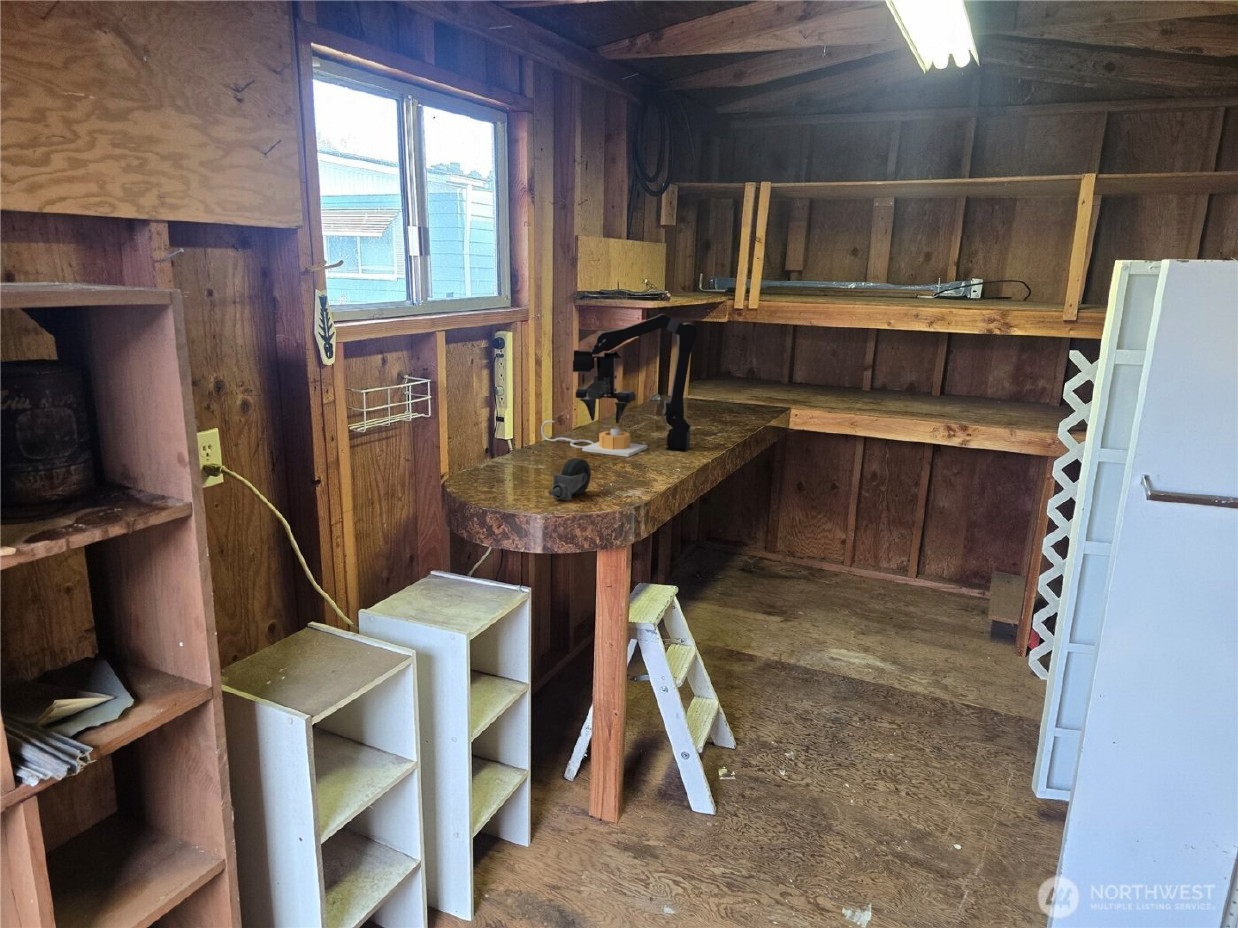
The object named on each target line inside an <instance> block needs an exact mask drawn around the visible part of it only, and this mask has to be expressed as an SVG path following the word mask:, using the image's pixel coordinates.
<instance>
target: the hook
mask: <svg viewBox="0 0 1238 928" xmlns="http://www.w3.org/2000/svg"><path fill="white" fill-rule="evenodd" d="M548 423H555V421H554V420H552V419H549V420H545V421H544V422H543V423H542V425H541V427H540V433H541V436H542V438H543V439H544V440H546V441H551V442H557V441H567V442H570V443H569V446H571V447H572V448H576V449H581V448H583V447H585V446H586V445H583V446H582V445H581V446H579V445H576V444H578V443H587V444H590V445H591V444H594V443H595V442H593V441H592V440H588V439H576V440H575V439H571V438H568V437H556V438H554V439H551V438H548V437H546V435H545V432H544V431H545V430H544V427H545V426H546V425H547V424H548Z"/></svg>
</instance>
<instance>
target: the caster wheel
mask: <svg viewBox="0 0 1238 928" xmlns="http://www.w3.org/2000/svg"><path fill="white" fill-rule="evenodd" d="M591 472H592V471H591V467H590V464H589V462H588V461H587V460H586V459H583V458H578V457H572V458H570V459H568V460H567V461H566V462H565V463H564V465H563V468H562V470H561V472H560V473H557V474H556V473H555V474H553V481H552V489H551V490H548V495H549V496H552V495H553V498H554V499H555V498H557V499H556V500H560V499H562V500H561V501H565V500H566V502H567V501H568V502H569V501H572V495H574V496H580V495H582V494H584V493H586V491H587V489H588V487H589V484H590V482H591V475H592V473H591Z"/></svg>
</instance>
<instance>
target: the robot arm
mask: <svg viewBox="0 0 1238 928" xmlns="http://www.w3.org/2000/svg"><path fill="white" fill-rule="evenodd" d="M660 329H666V330H668V331H670V332H671V333H674V334H675V335H676V345H677V346H676V347H677V355H676V362H675V368H674V373H673V379H672V380H673V381H672V385H671V393H670V396H669V399H668V400H666V399H665V400H663V409H662V411H661V413H662V414H663V417H664V420H665V422H666V424H668V426H670V427H671V428H670V429H668V433H666V437H667V438H666V447H665V450H670V451H671V450H672V451H680V452H686V451H688V450H690V449H692V448H693V447H692V446H691V444H690V443H691V427H692V426H691V425H690V423H689V421H687V420H686V418H685V407H684V394H685V388H686V382H687V378H688V377H687V376H688V370H689V364H690V358H691V353H692V351H693V350H694V347H695V344H696V342H697V338H698V336H699V335H698V334H699V332H698V329H697V327H696V326H695V325H694V324H692V323H689V322H683V323H682V322H679V321H678V320H675V319H673V318H671V317H669V316H668V315H667V314H665V313H659V314H658V315H657V316H654V317H651V318H649V319H648V318H647V319H646V320H642V321H640V322H638V323H635V324H632V325H628V326H627V327H623V328H615V329H611V330H605V331H601V332H600V333H599V334H598V335H597V337H596V343H595V345H594V346H593V347H591V350H580V349H574V350H573V360H572V373H591V372H592V371H593V370H595V359H596V375H593V382H592V383H590V384H589V385H588V386H587V387H586V386H585V387H579V388H576V390H575V398H576V399H579V401H581V402H583V403H584V405H585V406H586V409H587V411H588V414H589V416H590V419H591V422H593V421H595V417H596V405H597V400H601V399H603V398H605V399H606V398H607V399H614V400H615V399H616V400H617V401H615V403H614V405H615V407H616V409H615V424H619V422H620V421H621V418H622V416H623V414H624V412H625V409H626V408H627V406H628V404H631V403H632V402H635V401H636V399H637V398H636V396H637V395H636V393H635V391H631V390H630V391H629V390H621V391H619V392H617V388H616V387H615V383H616V381H615V380H616V379H618V378H617V374H616V373H615V372H616V359H621V358H622V356H621V354H620V353H619V352H618V351H617V349H616V348H618V347H619V346H620V345H622V344H624V343H625V342H626V341H628V340H632V339H634V338H635V339H636V338H637V337H640V336H642V335H645V334H648V333H651V332H654V331H656V330H660ZM613 349H615V350H613ZM611 350H613V351H612V352H609V351H611ZM601 353H603V355H601ZM599 354H600V355H599Z"/></svg>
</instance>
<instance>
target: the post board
mask: <svg viewBox="0 0 1238 928" xmlns="http://www.w3.org/2000/svg"><path fill="white" fill-rule="evenodd" d="M610 431H611V436H620V431H621V429H620V428H616V427H615V428H610ZM593 443H594V444H591V443H590V444H588V445H584V446H585V447H583V448H582V449H581V450H582V452H589V453H597V454H603V455H604V454H605V455H612V456H613V455H614V456H621V457H627V458H628V457H631V456H633V455H636V454H637V453H641V452H642V451H644V450H647V449H648V445H647V444H640V443H632V442H630V447H628V448H626V449H615V450H614V449H604V448H601V447H600V446H599V441H597V442H593Z"/></svg>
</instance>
